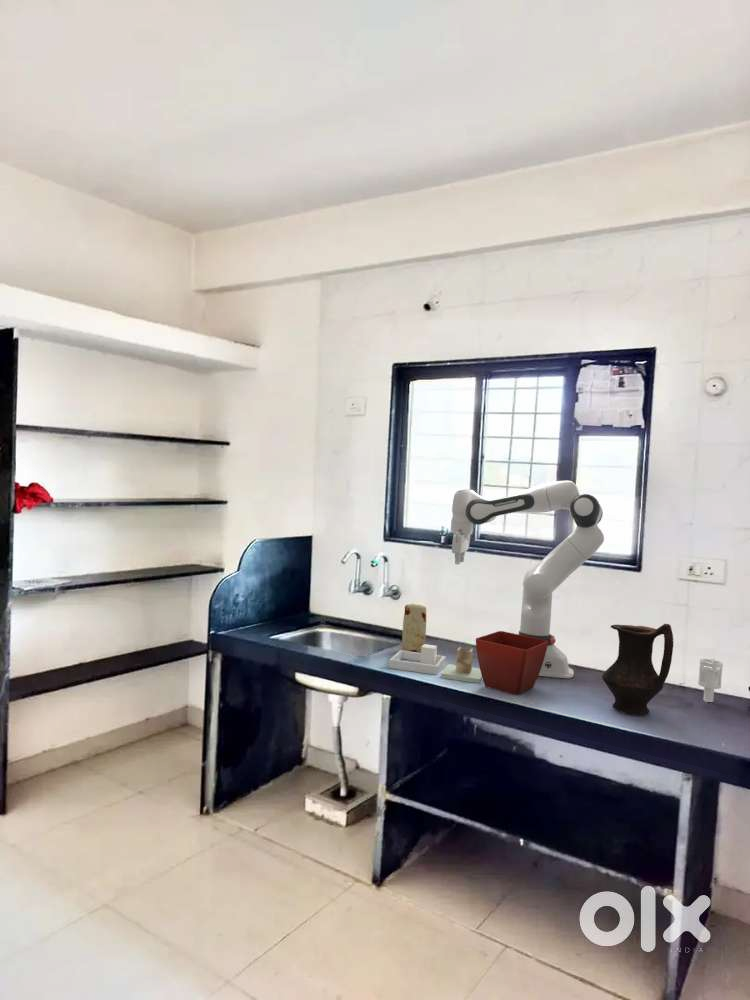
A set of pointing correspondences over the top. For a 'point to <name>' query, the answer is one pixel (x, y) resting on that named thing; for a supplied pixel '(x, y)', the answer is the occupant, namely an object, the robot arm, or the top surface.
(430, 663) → the plain white box
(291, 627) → the top surface
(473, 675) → the sage board
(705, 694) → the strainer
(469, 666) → the labelled oak box
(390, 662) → the shallow white tray
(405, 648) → the food model
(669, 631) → the jug
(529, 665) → the plant pot
